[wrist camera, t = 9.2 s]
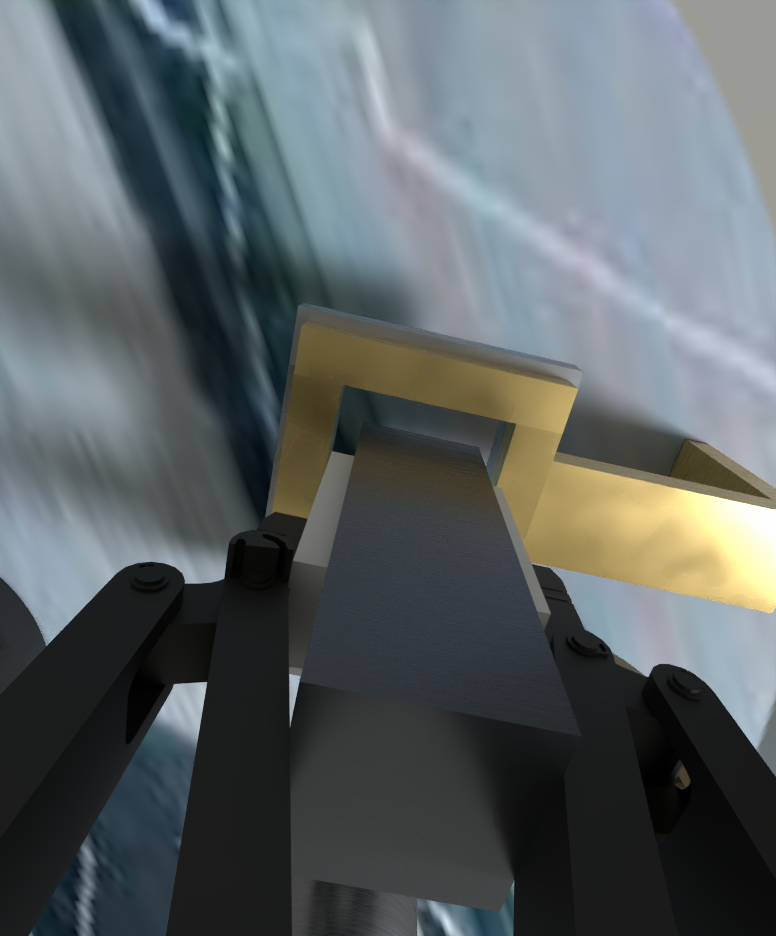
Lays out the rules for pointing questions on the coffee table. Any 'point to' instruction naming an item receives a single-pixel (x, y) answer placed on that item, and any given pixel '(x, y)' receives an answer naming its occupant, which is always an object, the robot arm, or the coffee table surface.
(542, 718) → the dark grey block
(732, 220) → the coffee table surface
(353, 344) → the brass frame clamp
